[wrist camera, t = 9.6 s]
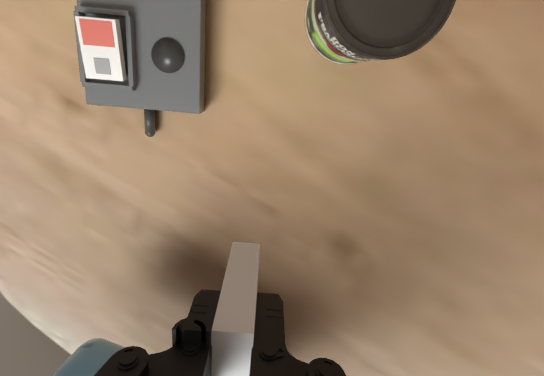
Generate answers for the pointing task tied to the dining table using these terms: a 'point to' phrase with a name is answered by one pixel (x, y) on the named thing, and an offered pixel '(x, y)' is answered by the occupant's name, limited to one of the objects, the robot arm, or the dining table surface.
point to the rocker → (101, 48)
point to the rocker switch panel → (152, 56)
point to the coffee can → (373, 27)
